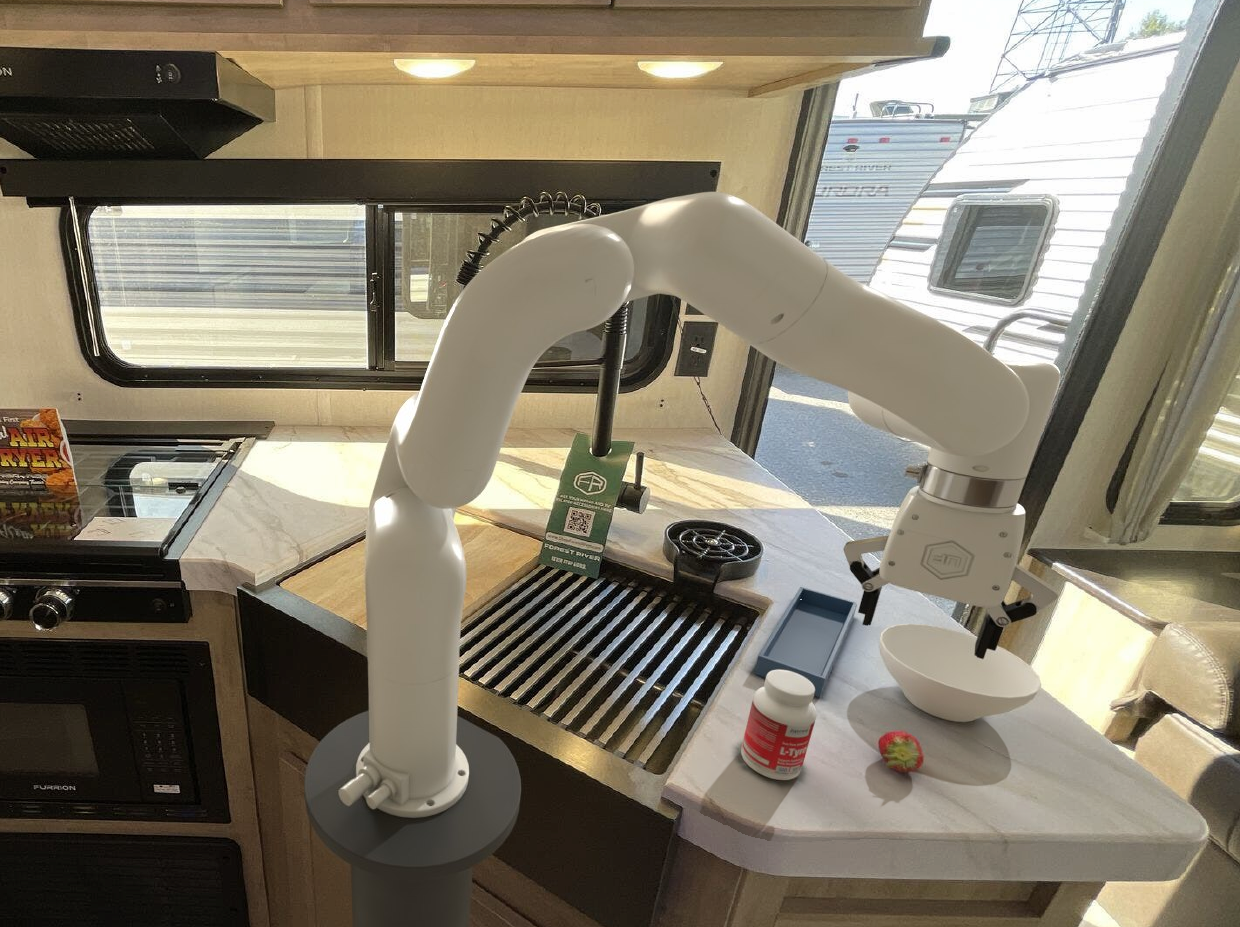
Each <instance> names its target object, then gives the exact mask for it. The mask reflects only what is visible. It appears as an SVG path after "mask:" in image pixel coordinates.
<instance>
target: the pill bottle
mask: <svg viewBox="0 0 1240 927" xmlns="http://www.w3.org/2000/svg"><path fill="white" fill-rule="evenodd" d="M814 692H815V687H814V685H813V684H812V683H811V682H810V681H809V680H808V679H807V678H805V677H803V676H802V675H800V674H797V673H795V672H791V671H787V670H772V671H770V672H769V673H768V674H767V676H766V678H765V679H764V683H763V686H761V687H760V688H757V689H756V691H755V692H754V694H753V697H752V701H751V705H750V708H749V709H750V710H749V714H748V718H747V723H746V725H745V726H746V727H745V730H744V736H743V739H742V743H741V748H740V754H741V756H742V759H743V761H744V762H745V763H746V764H747V765H748V766H749V767H750V768H751V769H752V770H753V771H755V772H756V773H758V774H760V775H762V776H764V777H765V778H769V779H772V780H778V781H790V780H793V779H796V778H798V776H799V775H800V774H801V772H802V769H803V766H804V762H805V758H806V755H807V751H808V747H809V745H810V740H811V737H812V734H813V730H814V727H815V723H816V720H817V708H816V707H815V704H814V703H813V700H814V697H815V696H814Z"/></svg>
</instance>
